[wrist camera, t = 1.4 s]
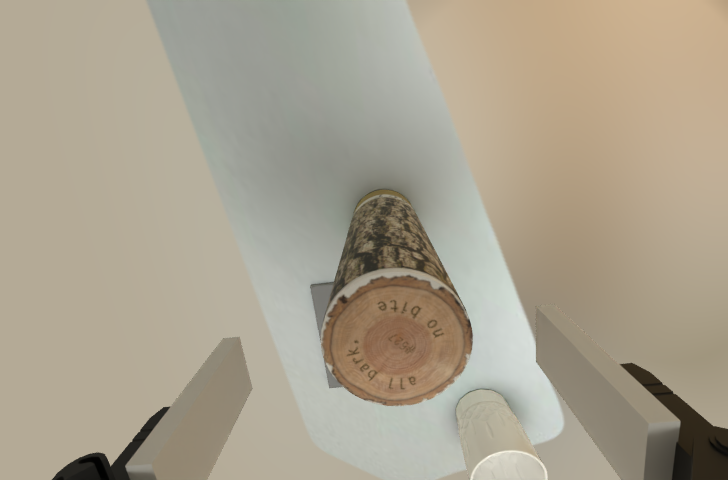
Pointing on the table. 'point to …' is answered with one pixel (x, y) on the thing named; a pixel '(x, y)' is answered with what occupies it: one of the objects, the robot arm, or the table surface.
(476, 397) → the white cup
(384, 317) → the brown bark cylinder
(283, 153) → the table surface
